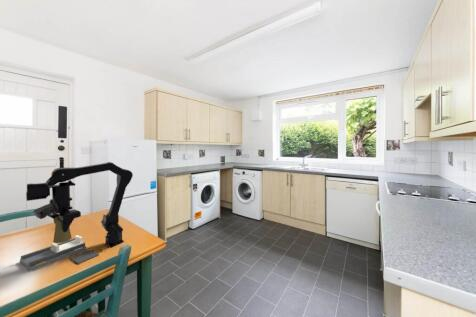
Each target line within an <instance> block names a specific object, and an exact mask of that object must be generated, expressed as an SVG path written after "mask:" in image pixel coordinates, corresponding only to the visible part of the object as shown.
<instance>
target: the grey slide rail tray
mask: <svg viewBox="0 0 476 317" xmlns="http://www.w3.org/2000/svg"><path fill="white" fill-rule="evenodd" d="M74 240H75V237H74V238H71V239H70V240H68V241H65V242H61V243H56V244H57V245H62V244H65V243H68V242H71V241H74ZM85 251H87V246H86V243H85V242H83V243H82V244H79V245H76V246H73V247H71V248H68V249H65V250H62V251H59V252H57V253H54V252H53V251H51V246H47V247H45V248H41V249H39V250H35V251H32V252H28V253H26V254H23V255H21V256H20V259H19V263H20V264H21V265H22V266H23V267H24V268H26V269H27V270H29V271H30V272H33V271H35V270H39V269H41V268H43V267H46V266H48V265H51V264H53V263H56V262H58V261H61V260H63V259H66V258H70V257H72V256H75V255H77V254H80V253H82V252H85Z"/></svg>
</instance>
